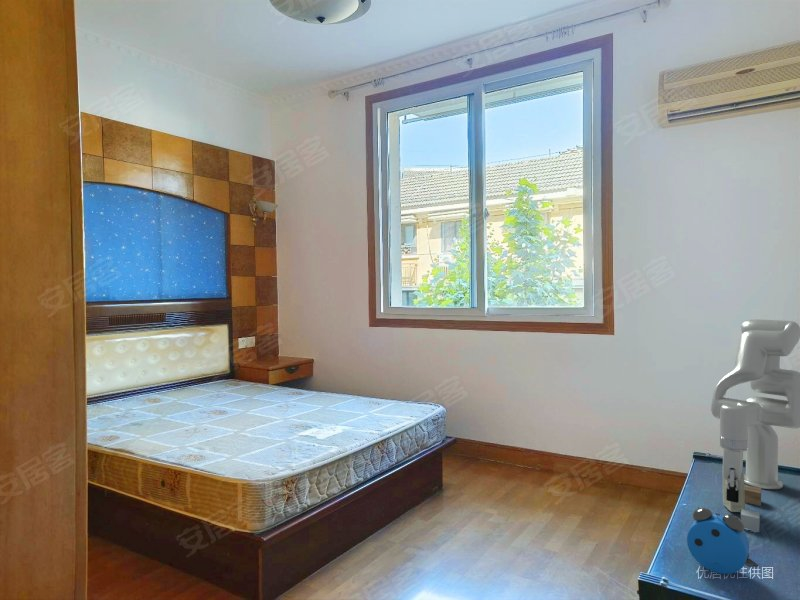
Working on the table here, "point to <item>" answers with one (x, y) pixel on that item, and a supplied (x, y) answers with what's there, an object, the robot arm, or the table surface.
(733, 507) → the skincare box
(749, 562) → the strap clip
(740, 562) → the alarm clock
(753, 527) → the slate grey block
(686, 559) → the table surface
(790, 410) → the robot arm
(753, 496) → the walnut block
